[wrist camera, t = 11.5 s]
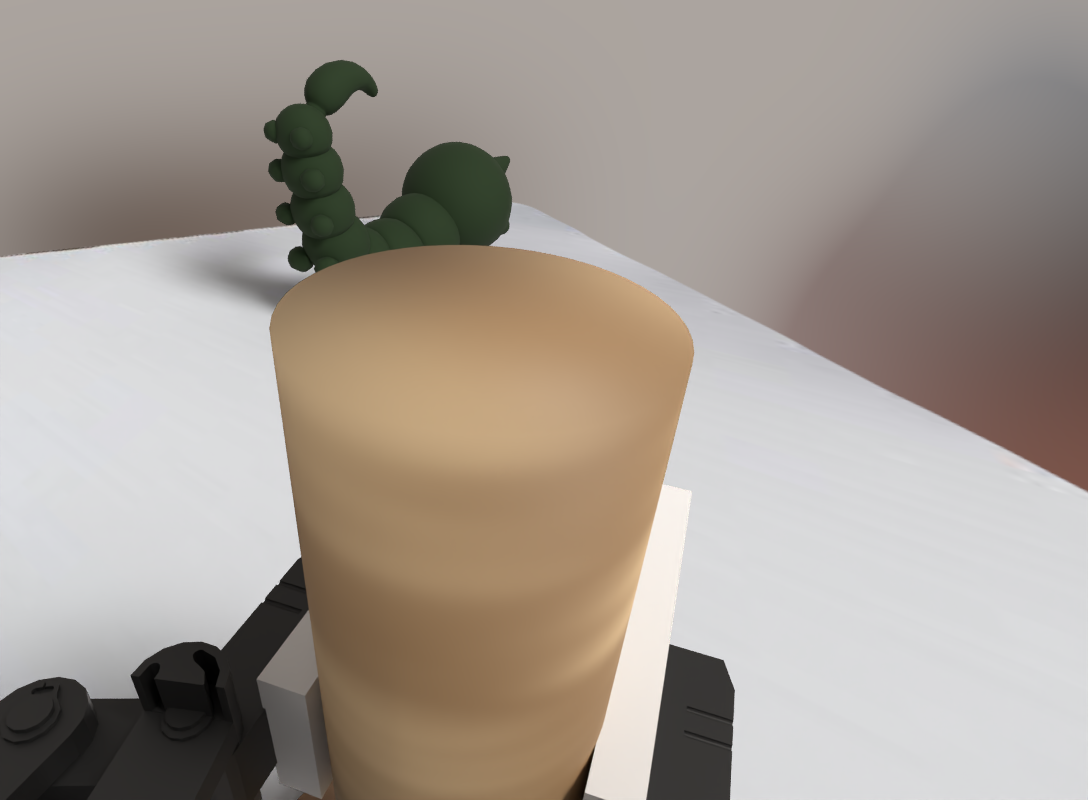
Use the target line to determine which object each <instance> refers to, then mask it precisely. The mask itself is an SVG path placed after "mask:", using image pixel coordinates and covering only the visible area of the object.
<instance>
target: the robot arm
mask: <svg viewBox="0 0 1088 800" xmlns="http://www.w3.org/2000/svg"><path fill="white" fill-rule="evenodd" d="M691 495H692V491H688V490H684V489H680V488H676V487H672V486H668V485H664V484H662V489H661V493H660V497H659V501H658V505H657V509H656V513H655V517H654V521H653V525H652V529H651V533H650V537H649V541H648V545H647V549H646V553H645V557H644V561H643V565H642V569H641V574H640V578H639V582H638V586H637V590H636V594H635V598H634V602H633V606H632V610H631V614H630V618H629V622H628V626H627V630H626V634H625V638H624V642H623V646H622V650H621V654H620V659H619V663H618V667H617V671H616V675H615V679H614V683H613V687H612V691H611V695H610V699H609V703H608V707H607V711H606V715H605V719H604V723H603V726H602V729H601V732H600V735H599V737H598V740H597V742H596V746H595V750H594V754H593V758H592V762H591V767H590V771H589V775H588V779H587V783H586V787H585V791H584V795H583V799H582V800H730V786H731V762H732V751H731V748H732V739H733V726H732V724H733V716H734V693H735V690H734V687H733V684H732V682H731V679H730V676H729V674H728V671H727V668H726V666H725V663H724V660H721V659H717V658H714V657H711V656H707V655H704V654H701V653H697V652H694V651H690V650H687V649H684V648H680V647H677V646H674V645H670V644H669V643H670V636H671V630H672V623H673V616H674V609H675V603H676V596H677V589H678V582H679V576H680V569H681V562H682V556H683V549H684V542H685V535H686V529H687V522H688V515H689V509H690V502H691ZM130 676H131V678H132V681H133V683H134V686H135V689H136V691H137V694H138V696H139V699H90V697H89V695H88V693H87V691H86V688H84V687H83V686H82V685H81V684H79V683H78V682H77V681H76V680H73V679H67V678H61V677H56V678H50V679H43V680H38V681H36V682H33V683H31V684H28V685H26V686H24V687H21V688H19V689H17V690H15V691H14V692H12V693H11V694H10V695H8V696H7V697H5V698H4V699H2V700H1V701H0V800H262V797H261V792H260V789H261V787H262V785H263V784H264V782H265V781H266V779H267V778H268V776H269V775H270V773H271V771H272V770H273V768H274V767H275V765H276V769H277V774H278V778H279V783H280V784H283V785H285V786H288V787H291V788H293V789H296V790H299V791H301V792H304V793H307V794H309V795H312V796H315V797H317V798H320V799H322V798H323V796H324V794H325V792H326V791H327V789H328V787H329V785H330V783H331V782H332V780H333V778H332V771H331V764H330V757H329V749H328V742H327V735H326V728H325V721H324V714H323V707H322V700H321V692H320V685H319V678H318V671H317V664H316V657H315V650H314V643H313V636H312V628H311V621H310V614H309V607H308V600H307V593H306V586H305V579H304V571H303V564H302V557H301V558H299V559H298V560H297V561H296V562H295V563H294V565H293V566H292V567H291V568H290V569H289V570H288V572H287V573H286V574H285V575H284V576H283V578H282V579H281V580H280V583H279V585H276V586H275V587H274V588H273V589H272V591H271V592H270V593H269V594H268V595H267V597H266V598H265V601H264V603H262V602H261V604H260V605H259V606H258V607H257V608H256V610H255V611H254V612H253V613H252V614H251V616H250V617H249V618H248V619H247V620H246V621H245V623H244V624H243V625H242V626H241V627H240V629H239V630H238V631H237V632H236V633H235V635H234V636H233V637H232V638H231V639H230V640H229V642H228V643H227V644H226V645H225V646H224V648H223V649H222V650H220V649H219V648H218V647H216V646H213V645H210V644H207V643H204V642H183V643H180V644H177V645H174V646H171V647H167V648H164V649H162V650H161V651H159V652H157V653H156V654H154V655H153V656H151V657H149V658H148V659H146V660H145V661H144V662H143V663H142V664H141V665H140V666H139V667H138V668H137V669H136V670H135V671H134V672H133V673H132V674H131V675H130Z"/></svg>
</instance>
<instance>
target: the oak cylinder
mask: <svg viewBox="0 0 1088 800" xmlns="http://www.w3.org/2000/svg"><path fill="white" fill-rule="evenodd" d="M269 329H270V336H271V344H272V351H273V358H274V365H275V372H276V379H277V386H278V394H279V401H280V408H281V415H282V422H283V429H284V436H285V443H286V451H287V458H288V465H289V472H290V479H291V486H292V493H293V500H294V507H295V515H296V522H297V529H298V536H299V543H300V550H301V557H302V564H303V571H304V579H305V586H306V593H307V600H308V607H309V614H310V621H311V628H312V636H313V643H314V650H315V657H316V664H317V671H318V678H319V685H320V692H321V700H322V707H323V714H324V721H325V728H326V735H327V742H328V749H329V757H330V764H331V771H332V778H333V785H334V792H335V799H336V800H582V799H583V795H584V791H585V787H586V783H587V779H588V775H589V771H590V767H591V762H592V758H593V754H594V750H595V746H596V742H597V740H598V737H599V735H600V732H601V729H602V726H603V723H604V719H605V715H606V711H607V707H608V703H609V699H610V695H611V691H612V687H613V683H614V679H615V675H616V671H617V667H618V663H619V659H620V654H621V650H622V646H623V642H624V638H625V634H626V630H627V626H628V622H629V618H630V614H631V610H632V606H633V602H634V598H635V594H636V590H637V586H638V582H639V578H640V574H641V569H642V565H643V561H644V557H645V553H646V549H647V545H648V541H649V537H650V533H651V529H652V525H653V521H654V517H655V513H656V509H657V505H658V501H659V497H660V493H661V489H662V484H663V480H664V476H665V472H666V468H667V464H668V460H669V456H670V452H671V448H672V444H673V440H674V436H675V432H676V428H677V424H678V420H679V416H680V412H681V408H682V404H683V399H684V395H685V391H686V387H687V383H688V379H689V375H690V371H691V367H692V362H693V356H694V347H693V340H692V337H691V335H690V333H689V330H688V328H687V326H686V325H685V323H684V322H683V321H682V319H681V318H680V316H679V315H678V314H677V313H676V312H675V311H674V310H673V309H672V308H671V307H670V306H669V305H668V304H666V303H665V302H664V301H663V300H661V299H660V298H659V297H658V296H656V295H654V294H653V293H651V292H650V291H648V290H647V289H645V288H643V287H642V286H640V285H638V284H636V283H634V282H632V281H630V280H628V279H626V278H624V277H621V276H619V275H617V274H614V273H612V272H610V271H607V270H604V269H601V268H599V267H596V266H593V265H590V264H586V263H583V262H579V261H576V260H573V259H568V258H564V257H560V256H556V255H551V254H546V253H541V252H535V251H529V250H522V249H515V248H505V247H495V246H478V245H437V246H421V247H410V248H402V249H395V250H388V251H382V252H377V253H373V254H368V255H364V256H360V257H356V258H353V259H349V260H346V261H343V262H340V263H337V264H335V265H332V266H329V267H327V268H325V269H323V270H321V271H318V272H316V273H314V274H312V275H311V276H309V277H307V278H306V279H304V280H302V281H301V282H299V283H298V284H297V285H295V286H294V287H293V288H292V289H291V290H289V291H288V292H287V293H286V294H285V295H284V297H283V298H282V299H281V300H280V301H279V303H278V304H277V306H276V308H275V310H274V312H273V314H272V317H271V322H270V328H269Z"/></svg>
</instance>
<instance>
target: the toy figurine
mask: <svg viewBox="0 0 1088 800" xmlns="http://www.w3.org/2000/svg"><path fill="white" fill-rule="evenodd" d="M357 90H362V91H363V92H365V93H366V94H367V95H369V96H371V97H375V96H376V95H377V93H378V89H377V86H376V83H375V81H374V80H373V78H372V77H371V75H370V74H369V73H368V72H367V71H366V70H365V69H364V68H362V67H361V66H359V65H357V64H356V63H354V62H350V61H344V60H338V61H333V62H329V63H325V64H324V65H322V66H321V67H319V68H317V69H316V70H315V71H314V72H313V73H312V74H311V75H310V77H309V78H308V79H307V81H306V85H305V88H304V96H305V100H306V102H307V103H306V104H293V105H290V106H288V107H286V108H285V109H284V110H282V111H281V112H280V114H279V115H278V117H277V118H276V121H275V120H272V121H269V122H267V123H266V124H265V126H264V133H265V137H266V138H267V139H269V140H270V141H272V142H274V143H278V145H279V147H280V148H281V150H282V151H283V152H284V153H283V156H282V159H275V160H273V161H272V162H271V163H269V170H268V172H269V174H270V176H271V177H272V178H273V179H274V180H275V181H277V182H285V183H286V185H287V187H288V188H289V190H290V191H292V192H293V195H292V197H291V203H290V204H289V203H286V202H285V203H282V204H280V205H279V206H278V207H277V209H276V216H277V219H278V220H279V221H280V222H282V223H284V224H286V225H292V224H294V223H296V225H297V226H298V227H299V229H300V230H301V231H302V232H303V234H302V246H303V247H301V246H298V247H295V248H293V249H292V250H290V252H289V255H288V262H289V264H290V266H291V268H294V269H296V270H298V271H301V272H306V271H308V270H309V269H311V268H312V267H313V265H315V268H314V270H315V272H318V271H321V270H323V269H325V268H327V267H329V266H332V265H335V264H337V263H340V262H343V261H346V260H349V259H353V258H356V257H360V256H364V255H368V254H373V253H377V252H382V251H388V250H395V249H402V248H410V247H421V246H437V245H478V246H489V245H491V244H492V243H493V242H494V241H496V240H497V239H498V238H499V236H500V235H502V234H505V233H506V232H507V231H508V229H509V217H510V213H511V206H512V196H511V191H510V187H509V183H508V180H507V177H506V175H505V172H506V170H507V168H508V166H509V163H510V158H509V157H508V156H500V157H494V158H493V157H492V156H491V155H489V154H488V153H487V152H485V151H484V150H482V149H480V148H478V147H476V146H474V145H471V144H468V143H462V142H449V143H443V144H439V145H437V146H435V147H433V148H431V149H429V150H427V151H426V152H424V153H423V154H422V155H421V156H420V157H418V158H417V160H416V161H415V162H414V163H413V165H412V166H411V167H410V169H409V170H408V172H407V175H406V177H405V180H404V184H403V188H402V196H401V197H398V198H396V199H395V200H394V201H393V202H392V203H390V204H389V205H388V206H387V207H386V208H385V209H384V211H383V213H382V215H381V217H380V219H377V220H373V221H371V222H369V223H367V224H366V225H364V224H363V223H362V222H361V221H360V219H359V218H358V217H356V216H355V205H354V201H353V198H352V196H351V194H350V192H348V190H347V189H346V188H345V187H344V186H343V185H342V183H343V172H344V169H343V165H342V162H341V159H340V157H339V155H338V154H337V152H336V151H335V150H334V149H333V148H332V147H331V144H332V130H331V127H330V125H329V122H328V120H327V119H326V118H325V117H326V116H327V115H332V114H333V113H335V112H336V111H337V110H339V109H340V108H341V107H342V106H343V105H344V104H345V102H346V101H347V100H348V99H349V97H350V96H351V95H352V94H353V93H354V92H355V91H357Z"/></svg>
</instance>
